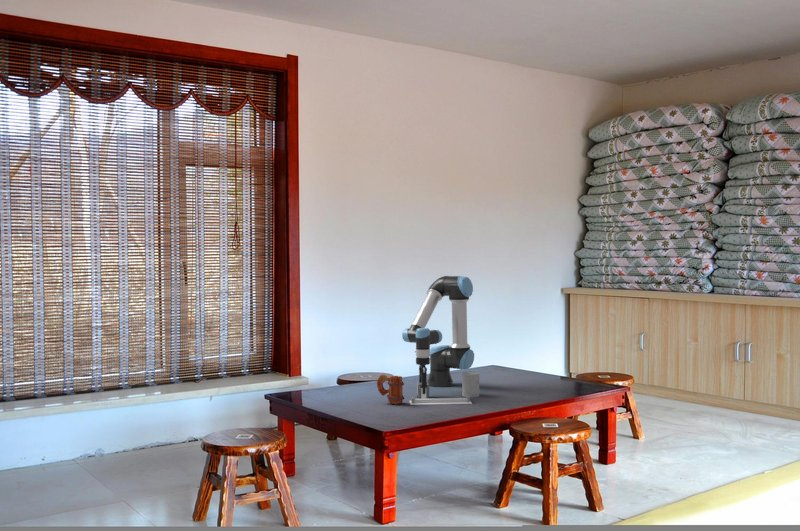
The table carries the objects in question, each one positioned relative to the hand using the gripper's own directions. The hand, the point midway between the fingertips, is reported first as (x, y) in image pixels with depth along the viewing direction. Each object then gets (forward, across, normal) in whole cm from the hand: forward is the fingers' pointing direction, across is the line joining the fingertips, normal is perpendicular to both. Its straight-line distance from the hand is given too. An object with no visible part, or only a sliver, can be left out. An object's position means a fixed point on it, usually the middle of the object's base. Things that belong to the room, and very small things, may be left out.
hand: (422, 397), depth 418 cm
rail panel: (0, +12, +8) cm, 15 cm away
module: (0, 0, 0) cm, 0 cm away
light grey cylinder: (0, -6, +27) cm, 28 cm away
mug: (0, +12, -18) cm, 21 cm away
